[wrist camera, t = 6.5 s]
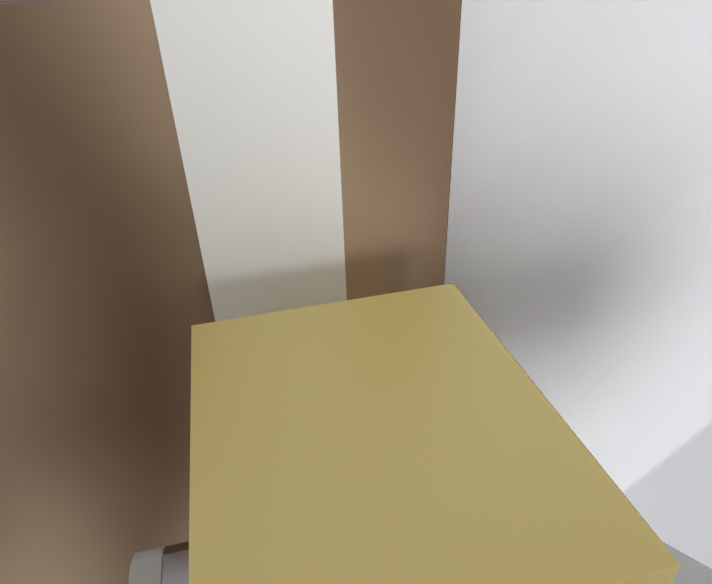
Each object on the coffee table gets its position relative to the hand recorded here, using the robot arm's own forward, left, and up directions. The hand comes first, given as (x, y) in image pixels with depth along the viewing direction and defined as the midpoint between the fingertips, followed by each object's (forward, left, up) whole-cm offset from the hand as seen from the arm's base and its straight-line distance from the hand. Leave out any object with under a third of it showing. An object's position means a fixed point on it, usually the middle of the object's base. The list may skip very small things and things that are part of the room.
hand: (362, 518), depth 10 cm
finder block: (0, 0, -2) cm, 2 cm away
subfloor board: (-5, 0, -6) cm, 7 cm away
